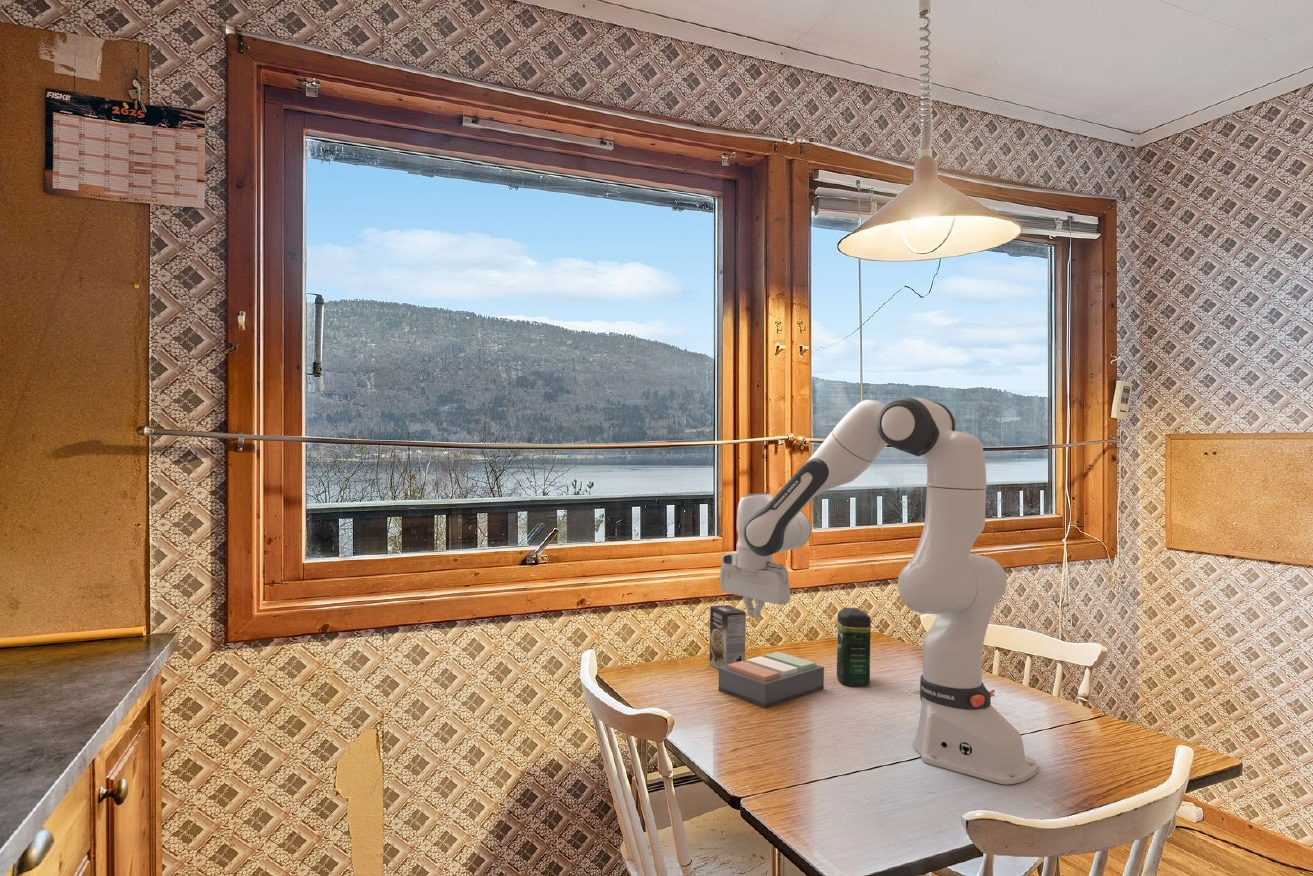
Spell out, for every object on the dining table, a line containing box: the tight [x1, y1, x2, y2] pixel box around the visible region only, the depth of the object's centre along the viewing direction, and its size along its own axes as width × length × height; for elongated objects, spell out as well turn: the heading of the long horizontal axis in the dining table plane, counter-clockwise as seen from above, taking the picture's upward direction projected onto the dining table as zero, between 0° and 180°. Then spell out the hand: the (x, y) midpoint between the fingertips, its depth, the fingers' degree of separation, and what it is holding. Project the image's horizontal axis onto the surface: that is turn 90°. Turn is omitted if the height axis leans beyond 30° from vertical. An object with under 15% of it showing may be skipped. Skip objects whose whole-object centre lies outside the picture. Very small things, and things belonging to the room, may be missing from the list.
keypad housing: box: [718, 655, 825, 709], centre depth 181 cm, size 15×22×6 cm
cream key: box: [746, 655, 798, 676], centre depth 181 cm, size 12×5×3 cm, turn 40°
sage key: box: [764, 651, 816, 671], centre depth 186 cm, size 12×5×3 cm, turn 40°
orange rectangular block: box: [727, 661, 779, 682], centre depth 177 cm, size 12×5×3 cm, turn 40°
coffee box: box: [709, 604, 747, 670], centre depth 199 cm, size 9×6×16 cm
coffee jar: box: [836, 607, 872, 687], centre depth 189 cm, size 10×8×19 cm
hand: (753, 616), depth 177 cm, fingers closed
